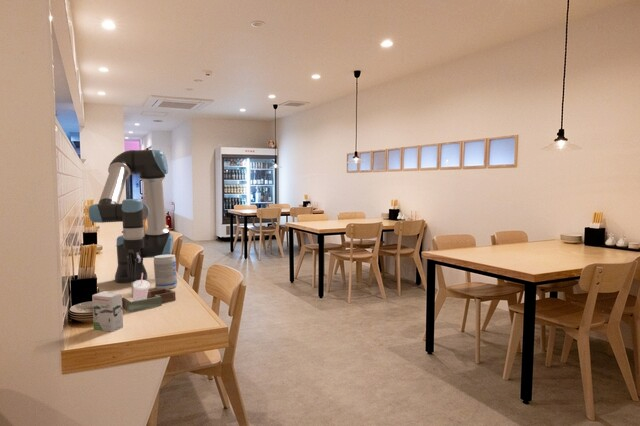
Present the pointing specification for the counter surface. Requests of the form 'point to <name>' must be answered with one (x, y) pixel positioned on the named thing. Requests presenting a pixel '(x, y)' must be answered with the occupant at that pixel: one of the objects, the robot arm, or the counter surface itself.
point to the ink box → (107, 311)
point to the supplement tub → (165, 271)
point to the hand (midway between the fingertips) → (136, 296)
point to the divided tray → (150, 300)
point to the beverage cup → (140, 289)
